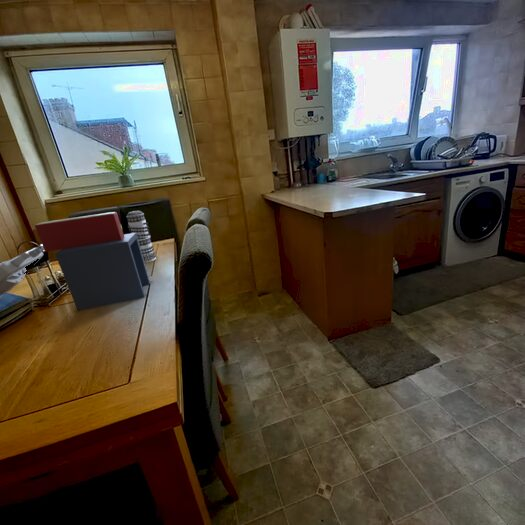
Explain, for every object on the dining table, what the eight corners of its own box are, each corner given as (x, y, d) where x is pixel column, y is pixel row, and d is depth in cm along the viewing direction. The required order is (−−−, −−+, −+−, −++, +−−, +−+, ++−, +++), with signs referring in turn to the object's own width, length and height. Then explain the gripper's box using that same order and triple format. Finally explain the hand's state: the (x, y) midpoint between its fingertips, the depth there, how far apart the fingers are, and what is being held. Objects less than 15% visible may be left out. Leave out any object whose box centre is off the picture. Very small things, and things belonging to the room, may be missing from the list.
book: (45, 252, 92) (34, 224, 89) (51, 248, 96) (40, 222, 92) (121, 239, 96) (113, 213, 93) (124, 237, 99) (116, 211, 96)
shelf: (77, 311, 95) (54, 253, 88) (91, 294, 108) (72, 242, 101) (144, 297, 99) (127, 241, 92) (150, 282, 112) (135, 232, 105)
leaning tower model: (150, 256, 148) (137, 209, 139) (160, 258, 142) (148, 209, 134) (134, 262, 141) (120, 213, 132) (144, 264, 135) (130, 213, 127)
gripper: (-28, 280, 82) (7, 251, 82) (14, 259, 101) (43, 235, 101) (-7, 294, 85) (27, 266, 84) (30, 271, 104) (58, 248, 103)
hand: (36, 249), depth 93 cm, fingers open, 8 cm apart
